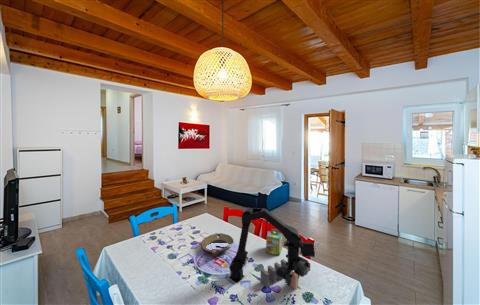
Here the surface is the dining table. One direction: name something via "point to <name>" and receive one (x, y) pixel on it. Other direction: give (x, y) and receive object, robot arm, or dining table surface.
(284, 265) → the domino
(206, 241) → the olive oval ring
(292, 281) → the tan rectangular block
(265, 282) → the domino
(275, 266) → the domino
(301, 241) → the robot arm
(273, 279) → the domino
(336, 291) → the dining table surface
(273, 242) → the chalk box
